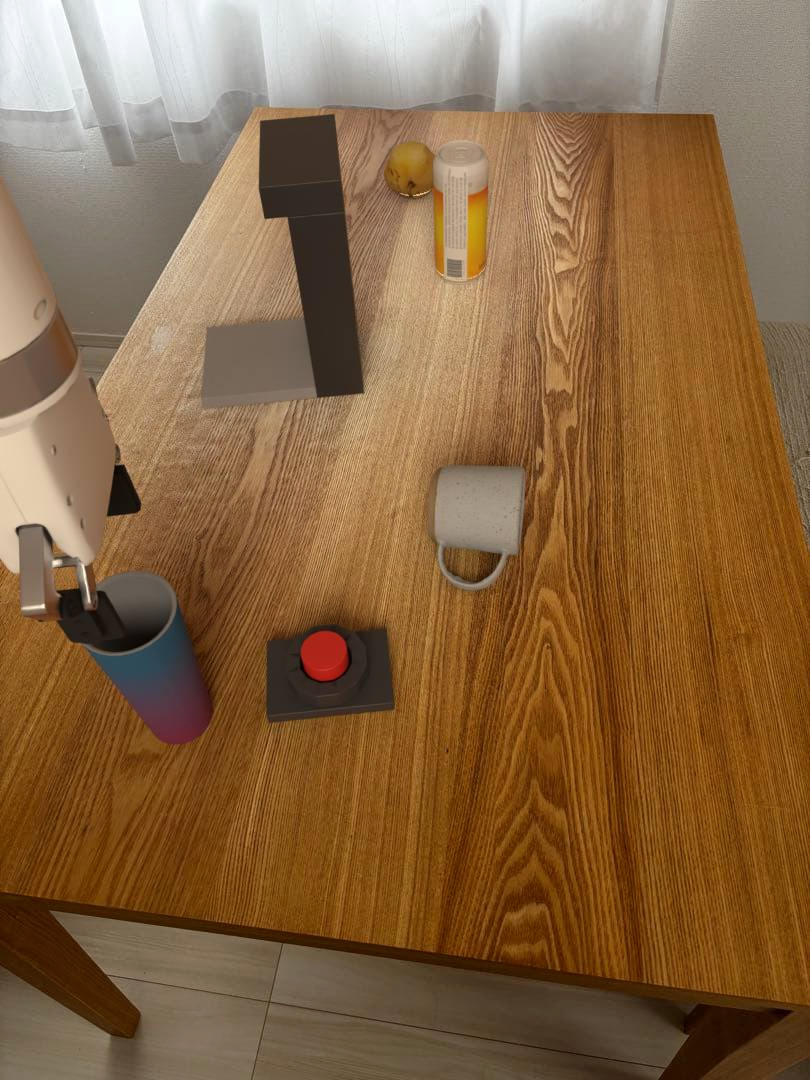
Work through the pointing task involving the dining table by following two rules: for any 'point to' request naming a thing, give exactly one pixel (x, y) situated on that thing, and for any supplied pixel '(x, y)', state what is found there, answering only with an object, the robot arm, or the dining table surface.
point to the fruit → (410, 169)
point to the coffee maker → (323, 277)
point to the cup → (154, 657)
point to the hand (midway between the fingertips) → (109, 570)
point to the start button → (324, 656)
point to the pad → (347, 694)
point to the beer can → (460, 210)
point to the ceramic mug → (476, 513)
